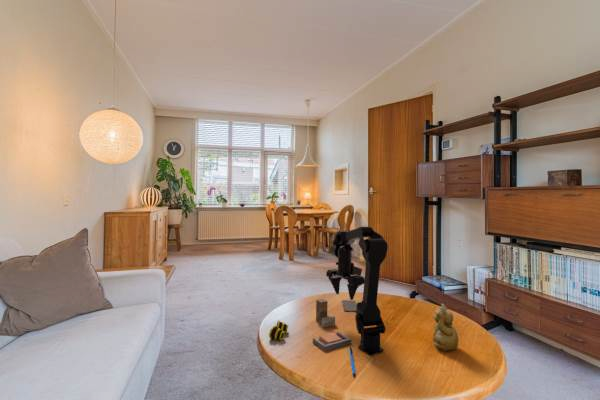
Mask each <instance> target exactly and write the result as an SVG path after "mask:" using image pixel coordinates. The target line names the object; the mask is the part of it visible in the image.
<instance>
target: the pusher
mask: <svg viewBox="0 0 600 400" xmlns="http://www.w3.org/2000/svg"><path fill="white" fill-rule="evenodd" d="M315 303H316V304H315V321H316V322H318V323H319V324H321V327H322V328H326V327H327V328H328V327H331V326H335V325H336V316H335V315H329V316H328V300H327V299H324V298H320V299H316V301H315Z"/></svg>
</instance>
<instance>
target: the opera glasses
mask: <svg viewBox="0 0 600 400" xmlns="http://www.w3.org/2000/svg"><path fill="white" fill-rule="evenodd" d="M288 329H289V324H287V323H285V322H282V321H281V320H280V319H278V320H277V323H276V325H273V326H272V327H271V329H269V334H268V337H269V339H271V340H272V339H274V340H279V341H283V340H284V338H285V334H287V332H288Z"/></svg>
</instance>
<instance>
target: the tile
mask: <svg viewBox="0 0 600 400" xmlns="http://www.w3.org/2000/svg"><path fill="white" fill-rule="evenodd" d="M318 340H319V341H320V342H322V343H323V344H325V345H326V344H330V343H334V342H337V341H341V340H342V339H341V338H340V337H338V336H337V334H335V333H334V332H329V333H325V334H322V335H321V334H320V335H319V336H318Z"/></svg>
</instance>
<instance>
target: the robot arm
mask: <svg viewBox="0 0 600 400" xmlns="http://www.w3.org/2000/svg"><path fill="white" fill-rule="evenodd" d="M357 240H358V245H359V247H360V249H361V255H362V256H363V259H364V261H365V270H364V276H362V272H363V268H360V267H358V266H355V264H354V262H353V261H352V251H354V248H353V247H352V246H351V245H353V244H354V243H355V242H356V241H357ZM388 249H389V246H388V243H387V241H386V240H385V238H384V237H383V235H381V234H380V233H378V232H377V231H375V230H374V228H373V227H372V226H359V227H357V228H353V229H351V230H337V231H336V233H335V235H334V237H333V240H332V245H331V246H330V247H329V253H330V254H331V256H333V257H335V258H337V261H335V265H336V266H337V268H332V269H331V268H330V269H328V270H326V273H325V274H326V275H325V276H326V277H328V278H327V279H328V280H329V282H330V284H331V285H332V288H333V289H334V292H335V294H336V295H339V294H340V289H341V288H340V284H341V280H342V279H343V280H346V281H347V284H346V285H347V290H348V294H349V295H348V296H349V300H352V301H354V298H355V295H356V293H357V291H358V290H357V289H358V288H359V287H360V286H362V285H363V294H362V300H361V301H360V302H357V303H356V305H357V310H356V312H355V316H354V317H355V319H354V320H355V326H356V330H357V334H358V335H360V345H357V348H358V349H360V350H361V351H362V352H364V353H366V354H367V355H369V356H372V355H375V354H378V353H382V352H384V349H383V348H382V347H381V334H385V332H386V327H385V323H384V321H383V319H382V316H381V310H380V307H379V306H378V303H377V302H378V291H379V285H380V284H379V281H380V273H381V272H380V271H381V264H382V263H383V262H384V260H385V259H386V258H387V253H388Z"/></svg>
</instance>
